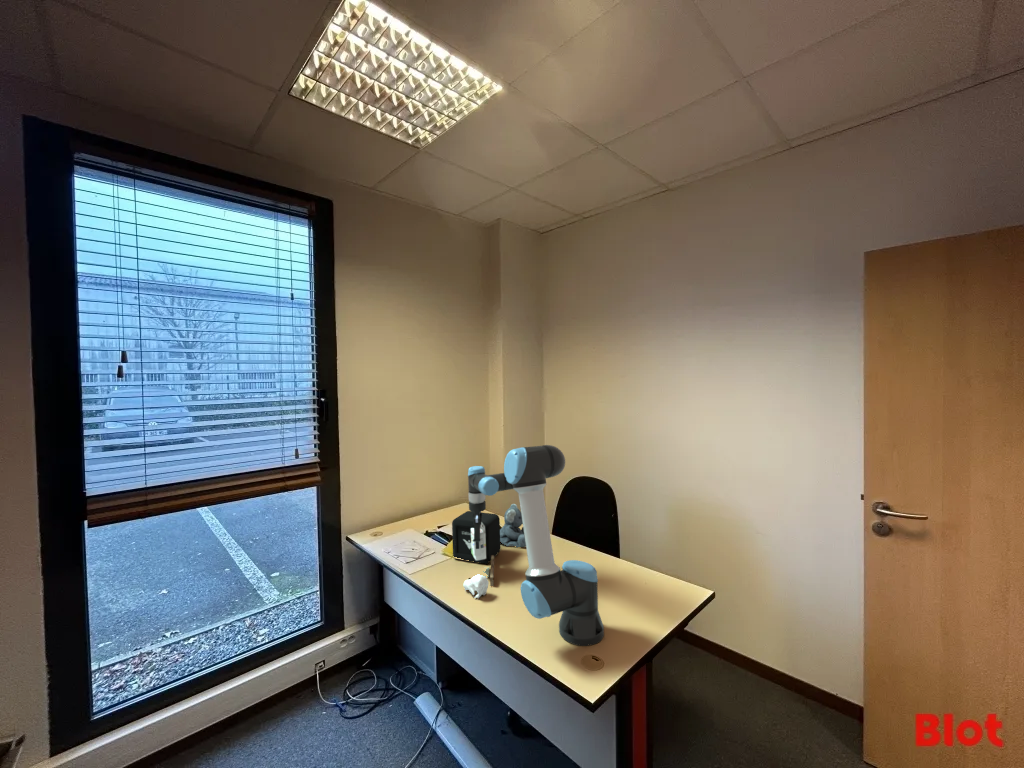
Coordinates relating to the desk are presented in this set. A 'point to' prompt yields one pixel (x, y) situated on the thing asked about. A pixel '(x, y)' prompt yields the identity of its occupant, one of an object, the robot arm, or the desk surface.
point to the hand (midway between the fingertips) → (478, 550)
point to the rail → (492, 570)
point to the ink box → (483, 543)
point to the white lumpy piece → (477, 585)
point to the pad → (487, 572)
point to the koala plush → (512, 528)
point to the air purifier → (463, 536)
